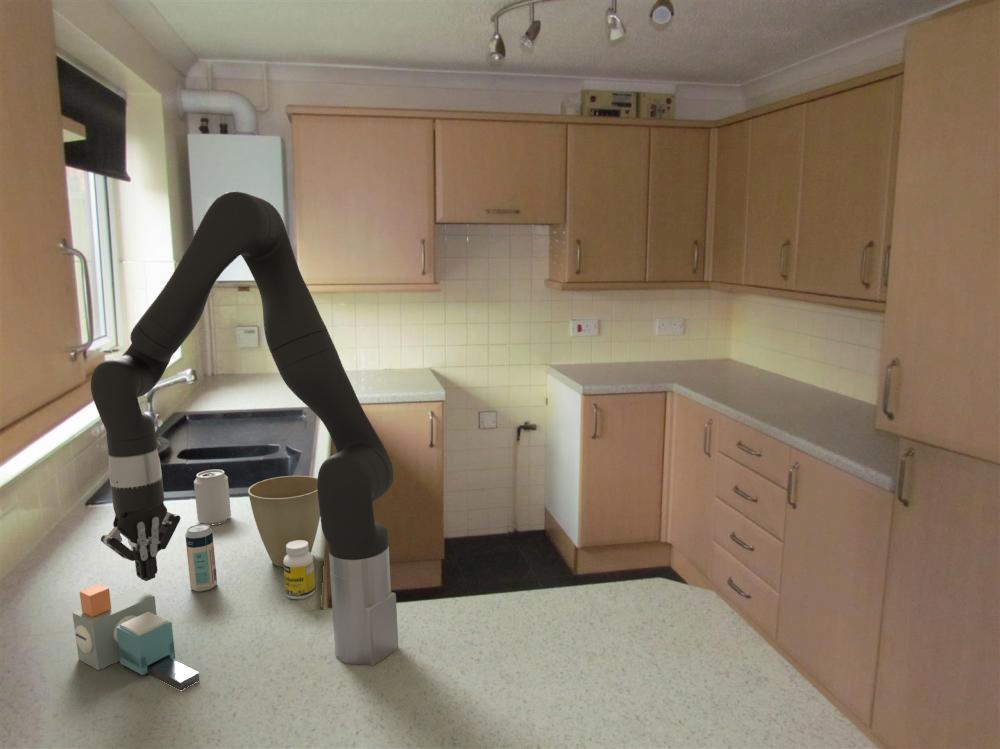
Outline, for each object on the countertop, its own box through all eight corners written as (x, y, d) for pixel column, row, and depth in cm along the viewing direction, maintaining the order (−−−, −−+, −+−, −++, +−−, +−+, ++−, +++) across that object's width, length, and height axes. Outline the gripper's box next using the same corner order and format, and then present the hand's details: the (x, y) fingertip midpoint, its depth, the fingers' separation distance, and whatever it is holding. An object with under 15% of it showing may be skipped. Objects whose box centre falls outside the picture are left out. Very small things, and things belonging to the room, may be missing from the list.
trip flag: (111, 609, 115) (108, 588, 114) (92, 617, 112) (89, 596, 112) (101, 604, 116) (98, 583, 116) (82, 612, 114) (79, 591, 113)
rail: (199, 681, 109) (198, 672, 108) (181, 691, 106) (180, 682, 106) (139, 651, 117) (138, 642, 117) (121, 659, 115) (120, 651, 115)
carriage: (175, 658, 114) (171, 619, 113) (142, 675, 109) (137, 635, 108) (153, 647, 117) (149, 609, 116) (120, 663, 113) (115, 624, 112)
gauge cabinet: (160, 641, 120) (155, 596, 119) (96, 673, 111) (90, 624, 110) (138, 631, 124) (133, 587, 122) (75, 661, 115) (68, 614, 114)
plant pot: (299, 580, 142) (293, 502, 139) (238, 569, 147) (231, 494, 144) (342, 550, 155) (338, 478, 153) (285, 541, 161) (280, 472, 158)
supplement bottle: (279, 597, 135) (275, 547, 133) (297, 585, 140) (293, 536, 138) (304, 602, 133) (300, 551, 131) (321, 589, 138) (318, 540, 136)
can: (219, 512, 179) (215, 466, 177) (237, 519, 175) (233, 471, 173) (191, 522, 173) (186, 474, 171) (209, 529, 169) (205, 479, 167)
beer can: (209, 579, 143) (203, 521, 141) (222, 586, 140) (216, 527, 138) (185, 588, 139) (179, 529, 137) (198, 595, 136) (192, 534, 134)
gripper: (108, 494, 110) (121, 600, 113) (186, 470, 121) (197, 568, 124) (82, 486, 114) (95, 589, 117) (160, 464, 125) (171, 559, 128)
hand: (148, 578), depth 121 cm, fingers closed
